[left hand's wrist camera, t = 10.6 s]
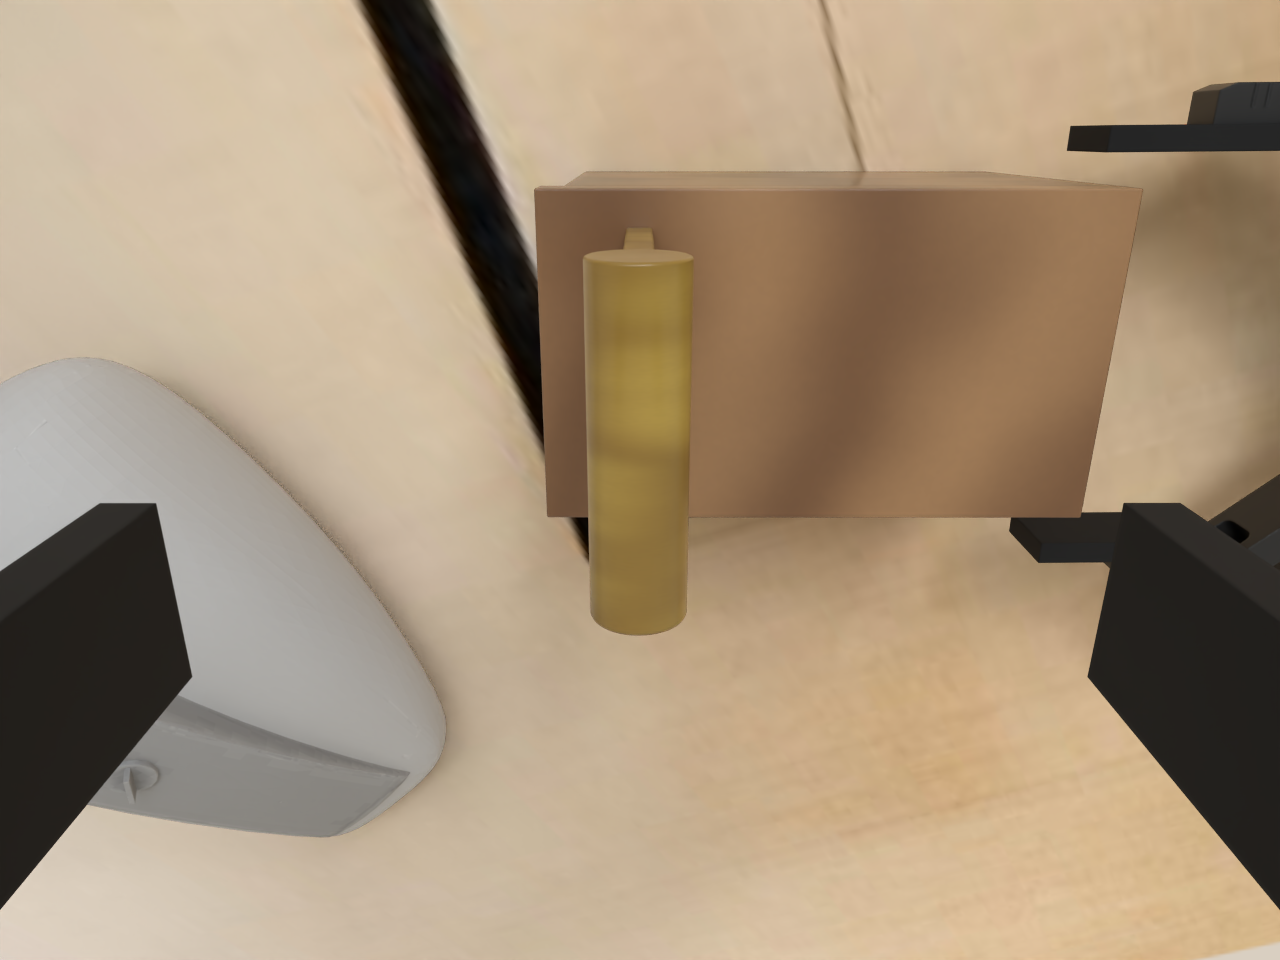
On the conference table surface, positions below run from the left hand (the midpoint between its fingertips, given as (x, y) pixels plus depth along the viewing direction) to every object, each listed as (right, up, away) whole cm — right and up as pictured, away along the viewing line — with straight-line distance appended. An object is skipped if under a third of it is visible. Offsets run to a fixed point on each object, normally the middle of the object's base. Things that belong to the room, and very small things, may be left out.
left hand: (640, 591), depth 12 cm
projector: (-19, -4, +28) cm, 34 cm away
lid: (+5, +5, +14) cm, 16 cm away
